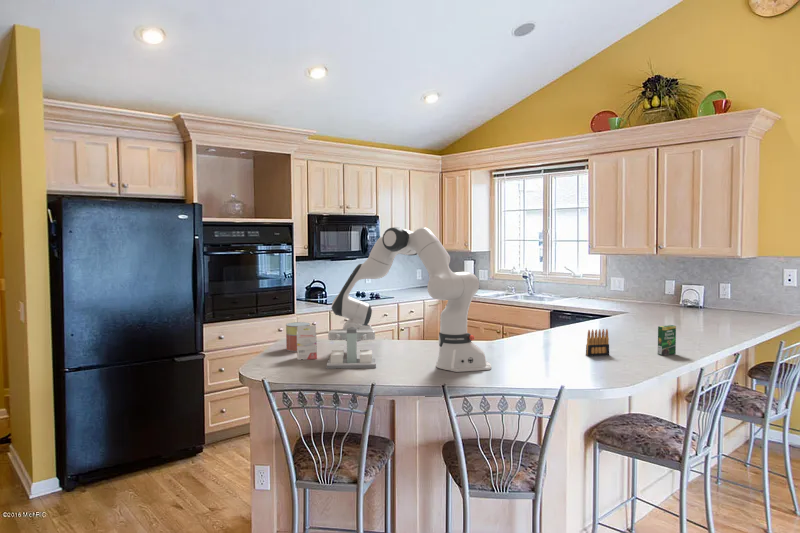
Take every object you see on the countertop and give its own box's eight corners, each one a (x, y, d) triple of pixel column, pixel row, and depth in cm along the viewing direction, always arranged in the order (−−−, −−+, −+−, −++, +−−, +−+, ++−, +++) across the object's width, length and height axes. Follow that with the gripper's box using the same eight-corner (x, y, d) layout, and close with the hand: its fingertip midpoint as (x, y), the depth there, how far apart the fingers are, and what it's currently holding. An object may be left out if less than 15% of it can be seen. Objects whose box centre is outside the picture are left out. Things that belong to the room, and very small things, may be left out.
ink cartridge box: (316, 356, 255) (316, 323, 254) (316, 359, 250) (316, 325, 249) (296, 357, 253) (296, 324, 252) (297, 359, 248) (296, 326, 247)
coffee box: (661, 355, 256) (662, 326, 255) (656, 354, 259) (657, 325, 258) (676, 354, 258) (676, 325, 258) (671, 353, 261) (672, 324, 260)
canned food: (312, 346, 276) (312, 322, 275) (306, 351, 265) (306, 326, 264) (290, 346, 277) (289, 322, 277) (283, 351, 266) (282, 325, 265)
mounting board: (375, 361, 245) (375, 349, 245) (375, 367, 234) (375, 355, 233) (328, 361, 244) (328, 349, 244) (326, 368, 232) (326, 356, 232)
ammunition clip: (587, 356, 255) (588, 329, 254) (585, 355, 256) (586, 329, 256) (609, 355, 257) (610, 329, 256) (607, 354, 259) (607, 328, 258)
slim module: (356, 360, 241) (356, 327, 241) (356, 362, 237) (356, 329, 237) (347, 360, 241) (347, 327, 240) (346, 362, 237) (346, 329, 236)
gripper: (328, 325, 254) (326, 331, 240) (374, 325, 255) (375, 330, 241) (328, 339, 254) (326, 345, 240) (374, 339, 255) (375, 345, 242)
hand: (351, 338), depth 241 cm, fingers open, 8 cm apart
